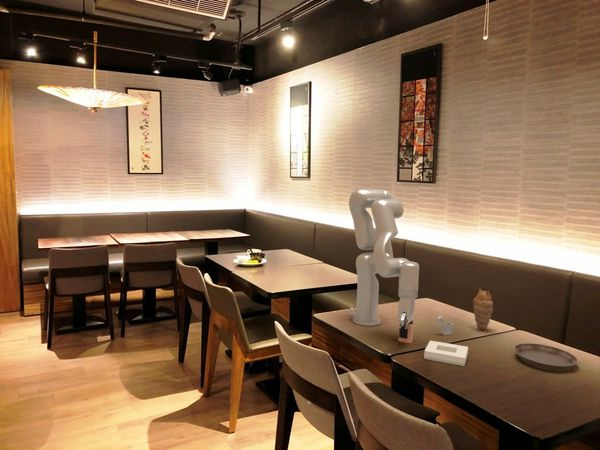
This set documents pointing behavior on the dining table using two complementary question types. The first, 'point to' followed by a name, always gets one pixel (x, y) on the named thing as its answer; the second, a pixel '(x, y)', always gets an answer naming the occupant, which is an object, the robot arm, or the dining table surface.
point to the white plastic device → (445, 326)
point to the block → (410, 334)
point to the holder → (446, 353)
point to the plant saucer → (545, 357)
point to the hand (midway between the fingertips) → (405, 334)
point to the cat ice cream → (482, 309)
